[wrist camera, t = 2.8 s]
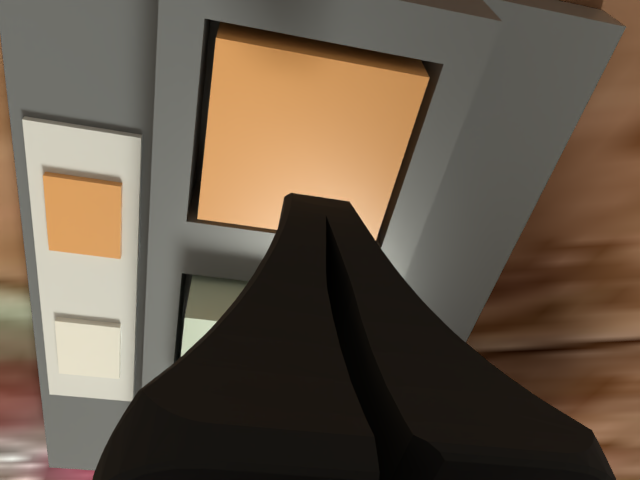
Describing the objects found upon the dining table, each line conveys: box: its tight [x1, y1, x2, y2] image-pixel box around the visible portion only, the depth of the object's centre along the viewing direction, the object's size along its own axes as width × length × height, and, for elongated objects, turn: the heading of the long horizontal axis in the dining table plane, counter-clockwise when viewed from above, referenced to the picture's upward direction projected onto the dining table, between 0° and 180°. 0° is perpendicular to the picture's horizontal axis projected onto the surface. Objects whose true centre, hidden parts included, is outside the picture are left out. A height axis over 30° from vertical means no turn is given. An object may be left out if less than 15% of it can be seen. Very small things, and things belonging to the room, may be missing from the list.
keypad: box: [0, 0, 626, 470], centre depth 21 cm, size 23×16×4 cm
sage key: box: [181, 275, 249, 356], centre depth 19 cm, size 5×5×2 cm
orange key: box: [197, 22, 430, 241], centre depth 16 cm, size 5×5×2 cm
